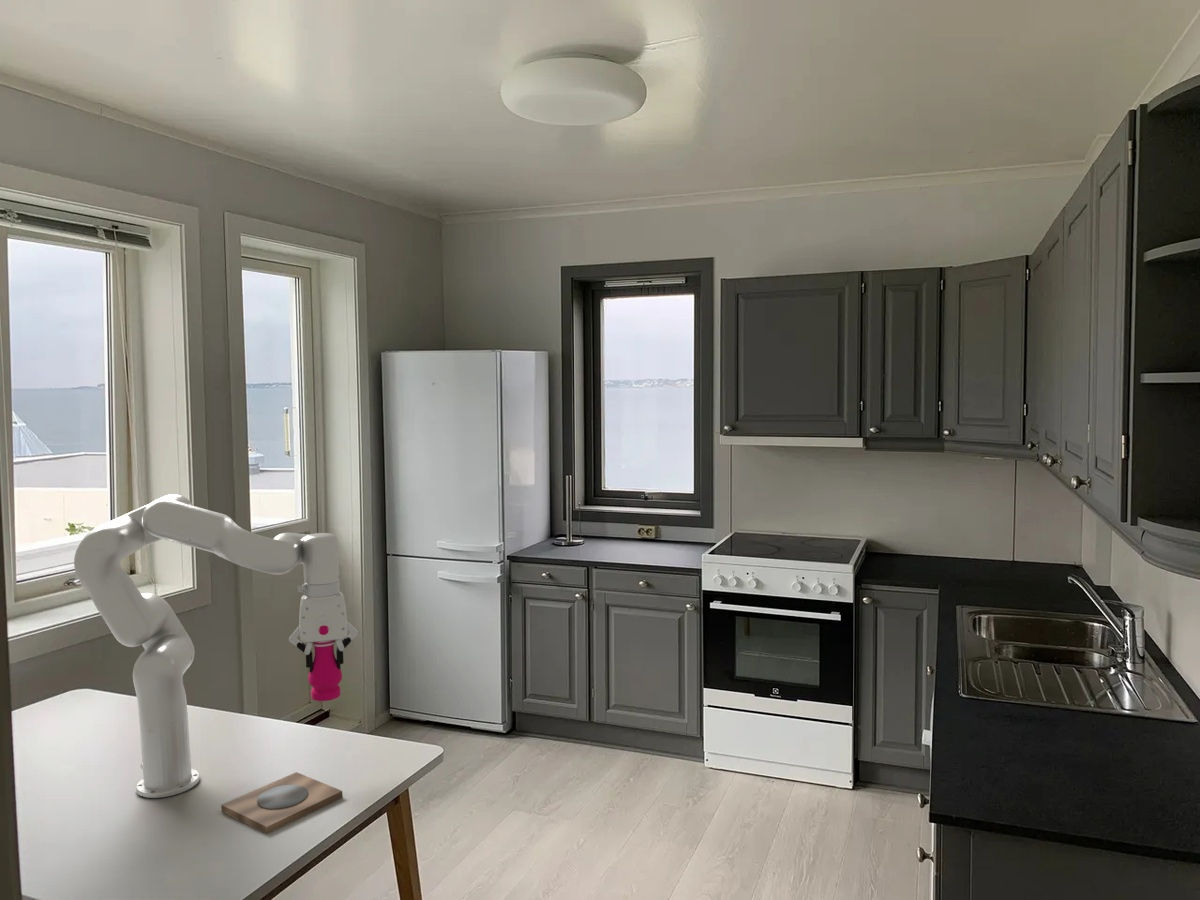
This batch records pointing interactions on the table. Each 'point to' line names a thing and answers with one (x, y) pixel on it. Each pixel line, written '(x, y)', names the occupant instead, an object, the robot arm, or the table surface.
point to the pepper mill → (325, 671)
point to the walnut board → (281, 802)
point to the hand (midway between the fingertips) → (325, 667)
